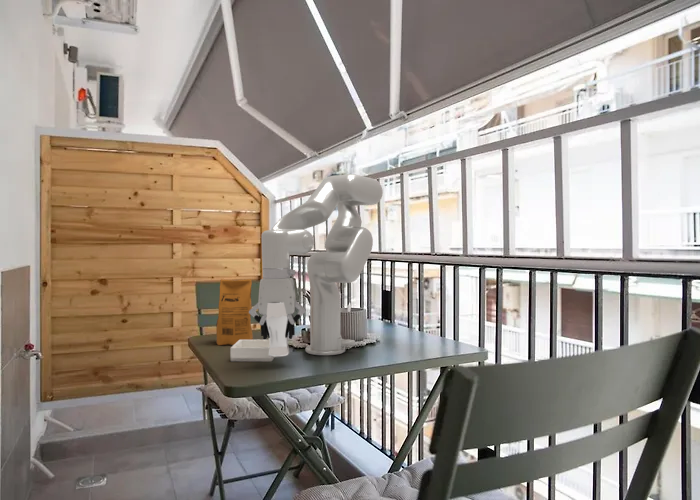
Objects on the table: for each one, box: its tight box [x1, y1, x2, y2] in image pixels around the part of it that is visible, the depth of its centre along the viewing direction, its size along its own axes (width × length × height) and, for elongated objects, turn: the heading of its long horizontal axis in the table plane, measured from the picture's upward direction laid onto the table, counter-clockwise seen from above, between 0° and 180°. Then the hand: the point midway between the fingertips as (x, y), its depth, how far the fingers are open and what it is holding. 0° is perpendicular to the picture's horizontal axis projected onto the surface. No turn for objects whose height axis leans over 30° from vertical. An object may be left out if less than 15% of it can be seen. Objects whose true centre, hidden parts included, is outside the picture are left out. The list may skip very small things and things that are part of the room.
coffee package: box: [215, 278, 254, 346], centre depth 170 cm, size 10×12×22 cm
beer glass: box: [265, 302, 291, 358], centre depth 138 cm, size 7×7×15 cm
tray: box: [230, 339, 275, 362], centre depth 149 cm, size 12×12×4 cm
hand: (278, 337), depth 138 cm, fingers closed on beer glass, 6 cm apart
